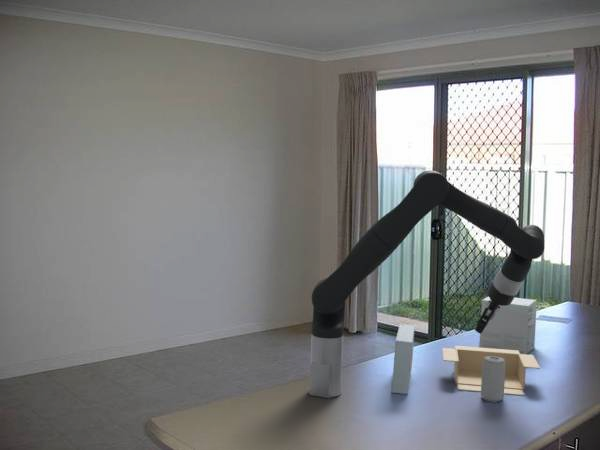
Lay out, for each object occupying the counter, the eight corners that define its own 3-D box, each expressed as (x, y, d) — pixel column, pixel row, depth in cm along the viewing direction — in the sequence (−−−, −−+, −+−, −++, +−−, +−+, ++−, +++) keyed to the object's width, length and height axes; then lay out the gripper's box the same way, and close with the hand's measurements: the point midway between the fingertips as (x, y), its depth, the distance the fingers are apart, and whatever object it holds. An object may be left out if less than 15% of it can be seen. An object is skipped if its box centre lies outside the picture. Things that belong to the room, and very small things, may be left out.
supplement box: (535, 347, 251) (538, 299, 249) (526, 356, 240) (529, 305, 238) (489, 339, 260) (491, 293, 259) (478, 347, 249) (480, 299, 247)
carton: (540, 397, 198) (542, 372, 197) (442, 388, 203) (443, 364, 203) (529, 373, 220) (531, 351, 219) (441, 366, 225) (442, 344, 224)
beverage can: (503, 396, 198) (506, 356, 196) (502, 404, 192) (505, 363, 190) (481, 393, 200) (483, 354, 198) (479, 401, 194) (482, 360, 192)
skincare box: (409, 395, 197) (412, 341, 195) (391, 393, 198) (393, 340, 196) (412, 373, 217) (414, 324, 216) (395, 371, 219) (397, 323, 217)
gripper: (502, 268, 203) (480, 307, 212) (485, 289, 192) (463, 329, 201) (524, 282, 200) (501, 320, 209) (509, 303, 190) (485, 343, 199)
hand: (483, 324), depth 205 cm, fingers open, 8 cm apart
